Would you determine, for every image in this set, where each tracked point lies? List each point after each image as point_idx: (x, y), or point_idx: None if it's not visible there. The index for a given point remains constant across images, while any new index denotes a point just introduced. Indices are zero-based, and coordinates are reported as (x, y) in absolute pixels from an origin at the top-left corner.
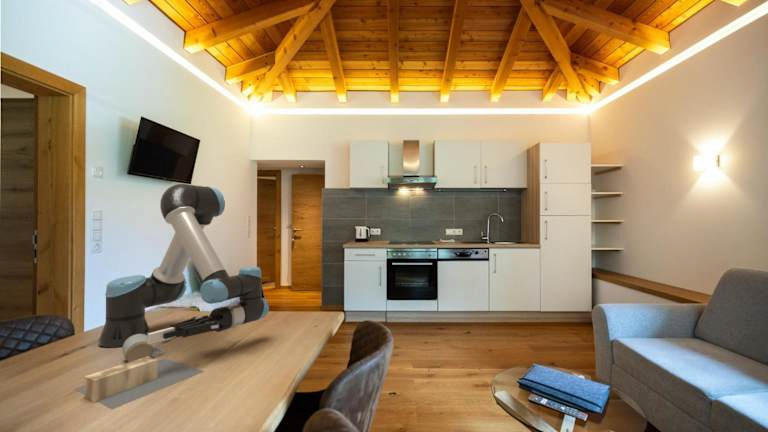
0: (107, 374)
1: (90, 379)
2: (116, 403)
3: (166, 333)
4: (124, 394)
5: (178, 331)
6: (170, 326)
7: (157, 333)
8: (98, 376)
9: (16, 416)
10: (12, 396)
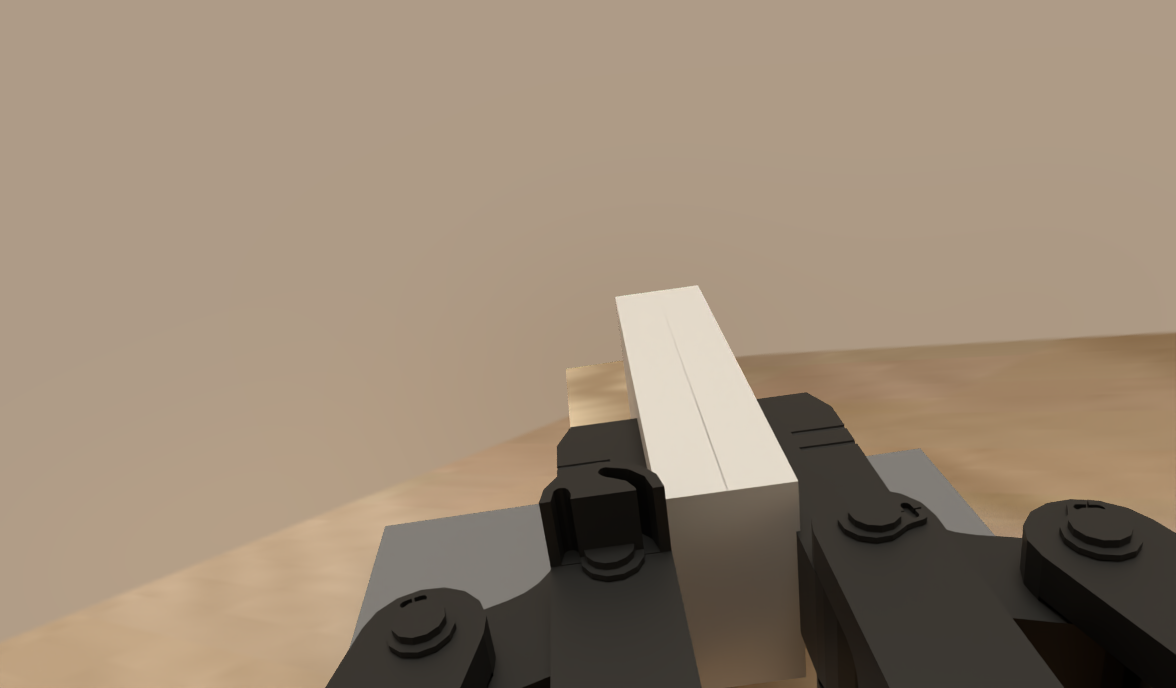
0: (606, 402)
1: (619, 363)
2: (433, 545)
3: (574, 439)
4: (523, 588)
5: (541, 601)
6: (1056, 520)
7: (624, 350)
8: (620, 378)
9: (787, 365)
10: (1097, 345)
